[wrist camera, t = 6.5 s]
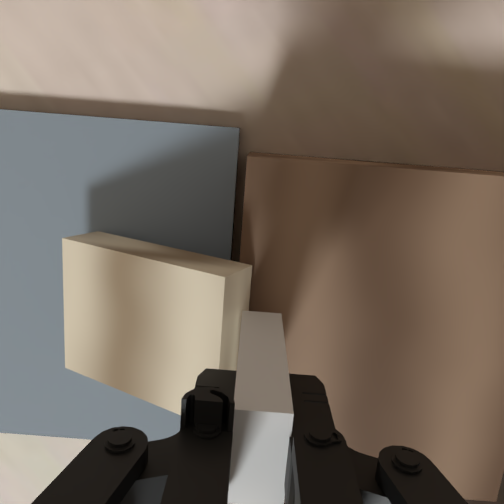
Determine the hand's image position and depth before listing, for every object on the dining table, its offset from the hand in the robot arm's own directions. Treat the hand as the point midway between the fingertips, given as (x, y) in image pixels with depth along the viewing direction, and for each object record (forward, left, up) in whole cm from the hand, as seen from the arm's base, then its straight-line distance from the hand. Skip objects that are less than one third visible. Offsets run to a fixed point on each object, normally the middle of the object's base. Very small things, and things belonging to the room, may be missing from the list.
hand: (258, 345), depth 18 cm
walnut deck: (-5, 0, -5) cm, 7 cm away
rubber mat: (+7, 0, -5) cm, 9 cm away
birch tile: (+4, 0, -3) cm, 5 cm away
